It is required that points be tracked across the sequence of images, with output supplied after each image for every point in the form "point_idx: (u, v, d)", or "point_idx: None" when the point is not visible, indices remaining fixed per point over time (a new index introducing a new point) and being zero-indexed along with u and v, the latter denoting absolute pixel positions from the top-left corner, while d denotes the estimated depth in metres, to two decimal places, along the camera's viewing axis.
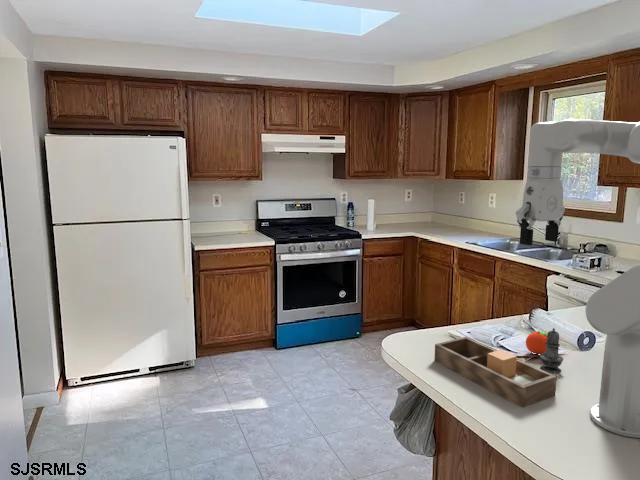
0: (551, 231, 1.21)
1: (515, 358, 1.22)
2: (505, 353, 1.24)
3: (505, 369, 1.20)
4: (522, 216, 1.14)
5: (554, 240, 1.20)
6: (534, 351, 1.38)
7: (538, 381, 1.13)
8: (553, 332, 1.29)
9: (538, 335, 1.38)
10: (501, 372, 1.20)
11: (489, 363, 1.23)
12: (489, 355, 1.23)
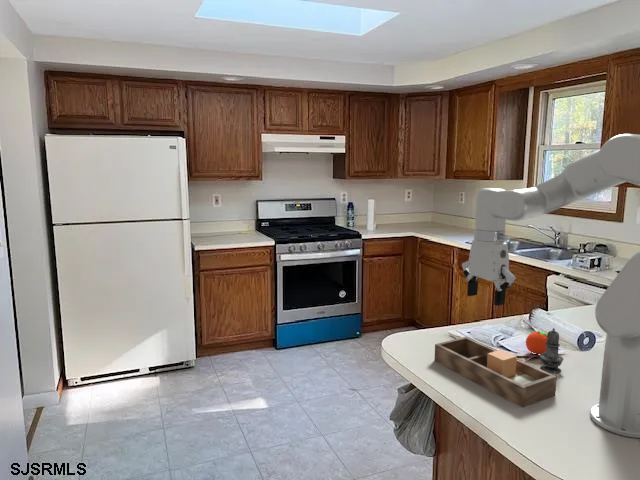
0: (474, 286, 1.29)
1: (515, 358, 1.22)
2: (505, 353, 1.24)
3: (505, 369, 1.20)
4: None
5: (476, 294, 1.30)
6: (534, 351, 1.38)
7: (538, 381, 1.13)
8: (553, 332, 1.29)
9: (538, 335, 1.38)
10: (501, 372, 1.20)
11: (489, 363, 1.23)
12: (489, 355, 1.23)
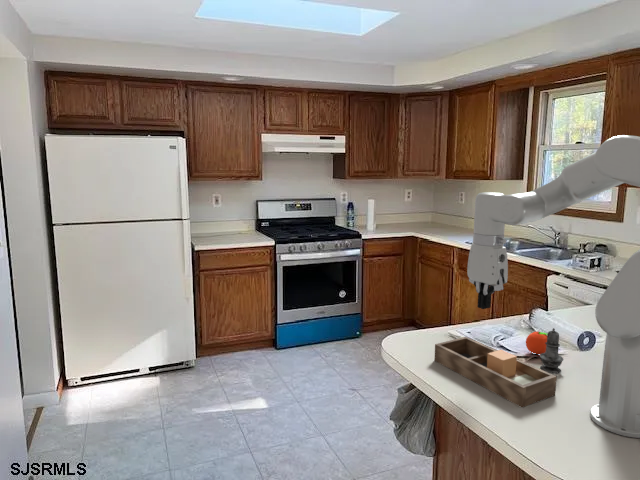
0: None
1: (515, 358, 1.22)
2: (505, 353, 1.24)
3: (505, 369, 1.20)
4: None
5: None
6: (534, 351, 1.38)
7: (538, 381, 1.13)
8: (553, 332, 1.29)
9: (538, 335, 1.38)
10: (501, 372, 1.20)
11: (489, 363, 1.23)
12: (489, 355, 1.23)
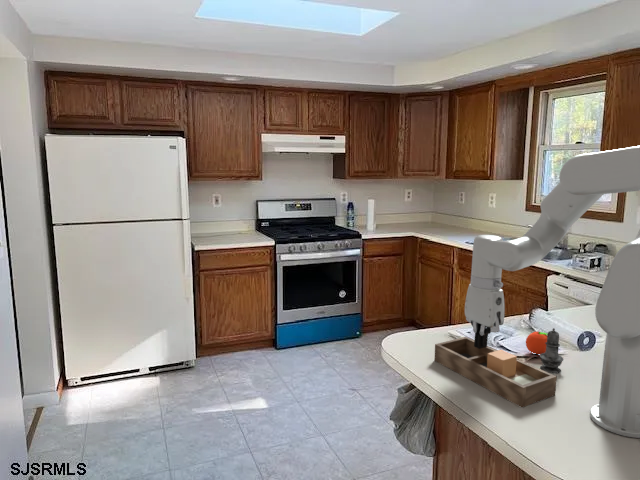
0: None
1: (515, 358, 1.22)
2: (505, 353, 1.24)
3: (505, 369, 1.20)
4: None
5: None
6: (534, 351, 1.38)
7: (538, 381, 1.13)
8: (553, 332, 1.29)
9: (538, 335, 1.38)
10: (501, 372, 1.20)
11: (489, 363, 1.23)
12: (489, 355, 1.23)
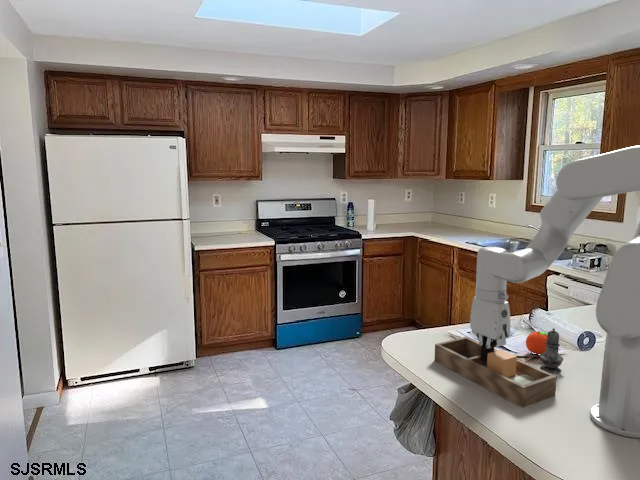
0: None
1: (515, 358, 1.22)
2: (505, 353, 1.23)
3: (505, 369, 1.20)
4: None
5: None
6: (534, 351, 1.38)
7: (538, 381, 1.13)
8: (553, 332, 1.29)
9: (538, 335, 1.38)
10: (501, 372, 1.20)
11: (489, 363, 1.23)
12: (489, 355, 1.23)
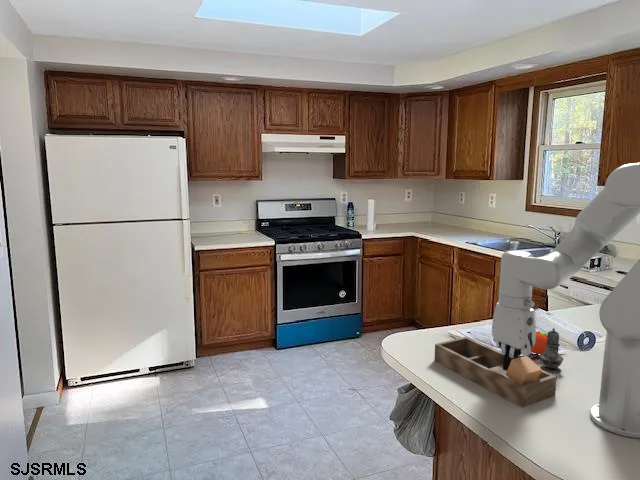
0: None
1: (540, 371, 1.15)
2: (530, 362, 1.16)
3: (526, 380, 1.14)
4: None
5: None
6: (534, 351, 1.38)
7: (538, 381, 1.13)
8: (553, 332, 1.29)
9: (538, 335, 1.38)
10: (521, 383, 1.14)
11: (510, 368, 1.17)
12: (513, 362, 1.16)
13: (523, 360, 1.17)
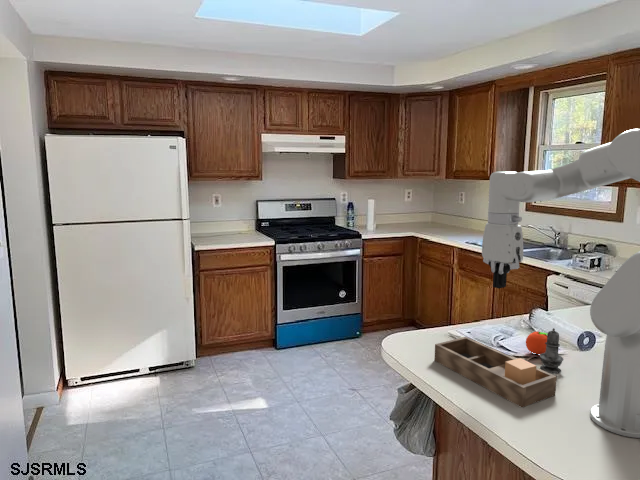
0: None
1: (535, 368, 1.16)
2: (524, 362, 1.18)
3: (524, 378, 1.15)
4: None
5: None
6: (534, 351, 1.38)
7: (538, 381, 1.13)
8: (553, 332, 1.29)
9: (538, 335, 1.38)
10: (519, 382, 1.15)
11: (507, 372, 1.18)
12: (507, 363, 1.18)
13: (517, 361, 1.19)
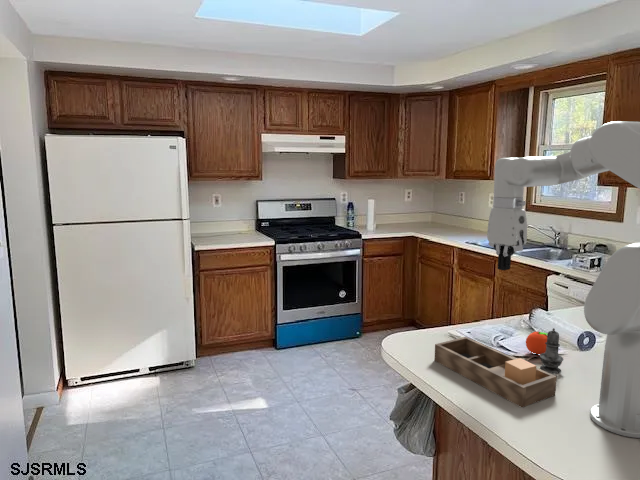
0: None
1: (535, 368, 1.16)
2: (524, 362, 1.18)
3: (524, 378, 1.15)
4: None
5: None
6: (534, 351, 1.38)
7: (538, 381, 1.13)
8: (553, 332, 1.29)
9: (538, 335, 1.38)
10: (519, 382, 1.15)
11: (507, 372, 1.18)
12: (507, 363, 1.18)
13: (517, 361, 1.19)
